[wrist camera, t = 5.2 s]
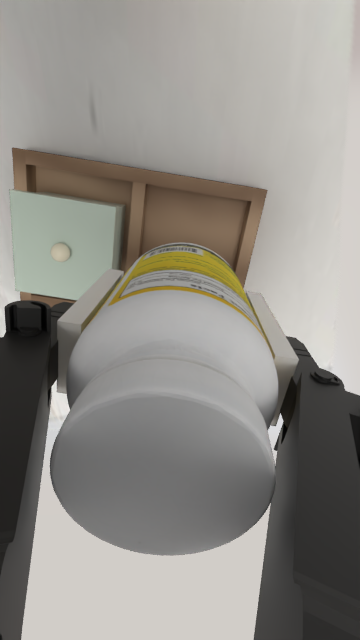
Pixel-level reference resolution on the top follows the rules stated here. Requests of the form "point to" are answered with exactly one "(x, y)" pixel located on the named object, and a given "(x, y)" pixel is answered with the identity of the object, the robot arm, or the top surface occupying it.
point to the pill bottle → (169, 410)
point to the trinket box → (63, 242)
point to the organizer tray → (151, 207)
